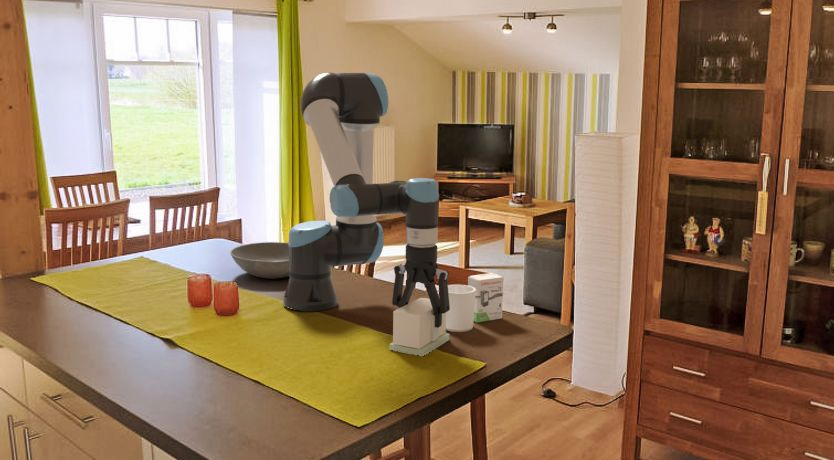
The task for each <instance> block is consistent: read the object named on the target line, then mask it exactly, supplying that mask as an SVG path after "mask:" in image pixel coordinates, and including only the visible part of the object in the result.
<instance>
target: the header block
mask: <svg viewBox="0 0 834 460" xmlns="http://www.w3.org/2000/svg"><path fill="white" fill-rule="evenodd" d="M449 340H450V333H447V332H446V333H444V334H443V335H441V336H439V337H438V339H436V340H435V341H431V342H430V343H428V344H426V345H425V346H423V347H422V348H420V349H417V348H412V347H406V346H401V345H396V344H393V341H392V342H391V343H389V351H391V350H393V352H397V351H398V352H399V353H403V354H408V355H412V354H413V355H414V356H417V355H419V357H422V356H424V355H425V356H427V355H428V354H430V353H431V352H433V351H434V350H436V349H438V348H439V347H440V346H442V345H443V344H445V343H446V342H448V341H449ZM432 350H433V351H432ZM398 352H397V353H398ZM429 352H430V353H429ZM426 354H427V355H426ZM413 355H412V356H413ZM425 356H424V357H425Z"/></svg>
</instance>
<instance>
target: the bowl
mask: <svg viewBox="0 0 834 460" xmlns="http://www.w3.org/2000/svg"><path fill="white" fill-rule="evenodd" d="M230 256H231V258H232V259H233V261H234V262H235V263H236V265H237V266H238V267H239V268H241V269H242V270H243V271H244V272H246V273H247V274H250V275H252V276H254V277H256V278H262V279H273V280H274V279H281V278H283V279H284V278H288V277H289V246H288V242H280V241H271V242H270V241H269V242H268V241H267V242H266V241H265V242H255V243H248V244H242V245H239V246H236V247H234V248H233V249H231V250H230Z"/></svg>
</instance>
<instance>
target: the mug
mask: <svg viewBox="0 0 834 460" xmlns="http://www.w3.org/2000/svg"><path fill="white" fill-rule="evenodd" d="M436 289H437V293H438V294H439V288H436ZM448 294H449V305H450V310H449V311H447V312H446V332H447V331H449V332H453V333H465V332H469V331H471V330H472V329H473V328H474V322H475V321H474V308H475V295H476V289H475V288H474V287H471V286H468V284H448Z"/></svg>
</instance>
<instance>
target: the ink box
mask: <svg viewBox="0 0 834 460" xmlns="http://www.w3.org/2000/svg"><path fill="white" fill-rule="evenodd" d="M467 286H471V287H474V288H475V289H476V295H475V308H474V321H473V322H475V323H483V322H488V321H495V320H500V319H502V318H503V295H504V277H503V276H501V275H499V274H496V273H494V272H490V273H482V274H481V273H480V274H475V275H474V274H473V275H469V276H468V277H467Z"/></svg>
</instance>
